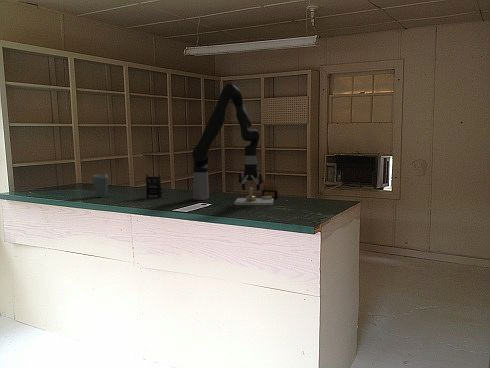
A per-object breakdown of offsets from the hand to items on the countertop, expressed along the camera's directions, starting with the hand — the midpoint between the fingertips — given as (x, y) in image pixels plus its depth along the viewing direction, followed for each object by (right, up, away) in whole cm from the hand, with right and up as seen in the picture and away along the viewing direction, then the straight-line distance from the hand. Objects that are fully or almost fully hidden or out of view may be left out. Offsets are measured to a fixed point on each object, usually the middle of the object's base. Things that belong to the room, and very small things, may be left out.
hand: (250, 190), depth 259 cm
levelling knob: (0, -6, +1) cm, 6 cm away
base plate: (+2, -7, 0) cm, 8 cm away
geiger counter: (-62, -5, +25) cm, 67 cm away
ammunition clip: (+12, -5, +17) cm, 22 cm away
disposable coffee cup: (-99, -5, +30) cm, 103 cm away
